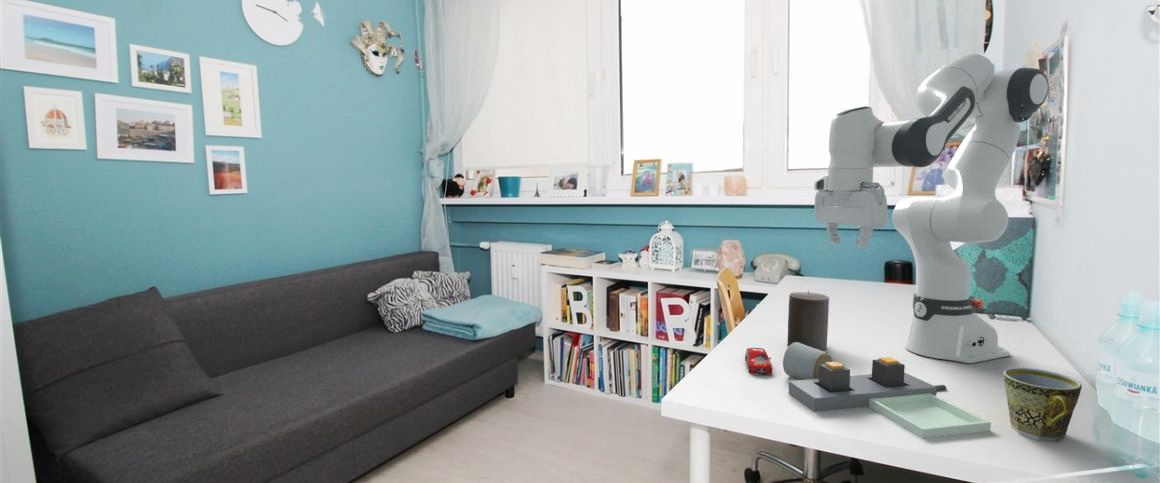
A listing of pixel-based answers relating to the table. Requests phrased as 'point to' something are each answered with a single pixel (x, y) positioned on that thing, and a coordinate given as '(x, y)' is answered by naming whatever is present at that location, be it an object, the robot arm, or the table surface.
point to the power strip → (850, 389)
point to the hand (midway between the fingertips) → (847, 245)
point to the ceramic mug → (804, 361)
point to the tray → (929, 415)
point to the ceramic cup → (1040, 402)
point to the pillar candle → (808, 319)
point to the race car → (758, 361)
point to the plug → (888, 372)
